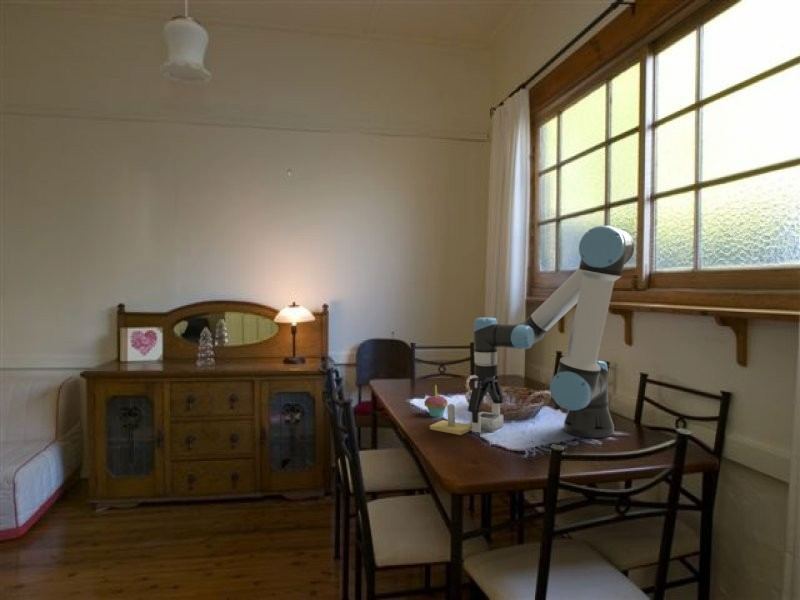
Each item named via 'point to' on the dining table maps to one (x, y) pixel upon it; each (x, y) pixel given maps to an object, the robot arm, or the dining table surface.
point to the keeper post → (451, 424)
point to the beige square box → (490, 421)
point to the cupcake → (436, 404)
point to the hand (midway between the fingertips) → (486, 427)
